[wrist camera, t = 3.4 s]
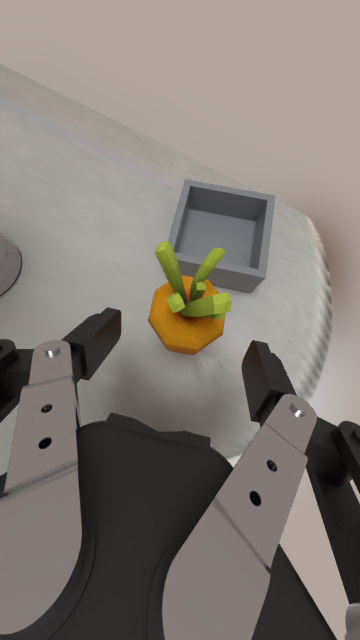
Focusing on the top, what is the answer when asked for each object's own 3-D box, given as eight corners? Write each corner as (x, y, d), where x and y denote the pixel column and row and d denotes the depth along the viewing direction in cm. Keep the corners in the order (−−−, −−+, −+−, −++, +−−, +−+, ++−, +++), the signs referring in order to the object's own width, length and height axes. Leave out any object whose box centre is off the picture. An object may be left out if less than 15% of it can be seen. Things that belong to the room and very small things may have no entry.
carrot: (158, 321, 22) (117, 229, 7) (199, 313, 22) (239, 208, 8) (166, 364, 21) (136, 357, 6) (209, 355, 21) (281, 325, 6)
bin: (165, 275, 23) (163, 256, 19) (184, 207, 26) (185, 179, 22) (250, 293, 23) (265, 277, 19) (260, 222, 25) (275, 195, 22)
